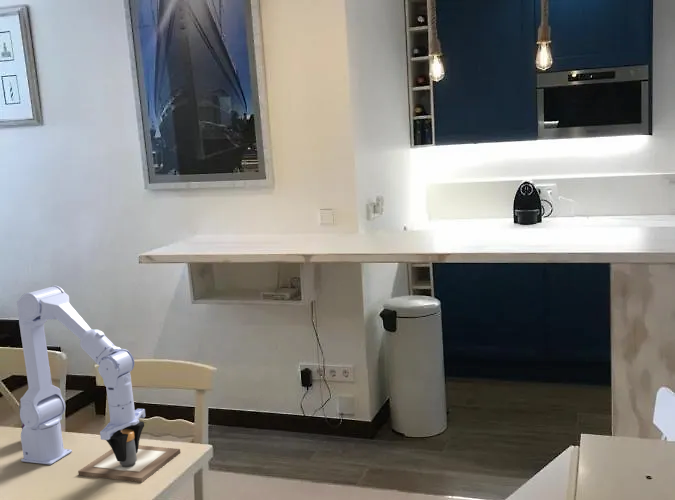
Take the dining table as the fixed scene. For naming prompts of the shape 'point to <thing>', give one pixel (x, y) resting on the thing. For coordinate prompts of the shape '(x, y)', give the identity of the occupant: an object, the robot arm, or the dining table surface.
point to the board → (145, 466)
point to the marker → (129, 449)
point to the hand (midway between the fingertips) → (127, 456)
